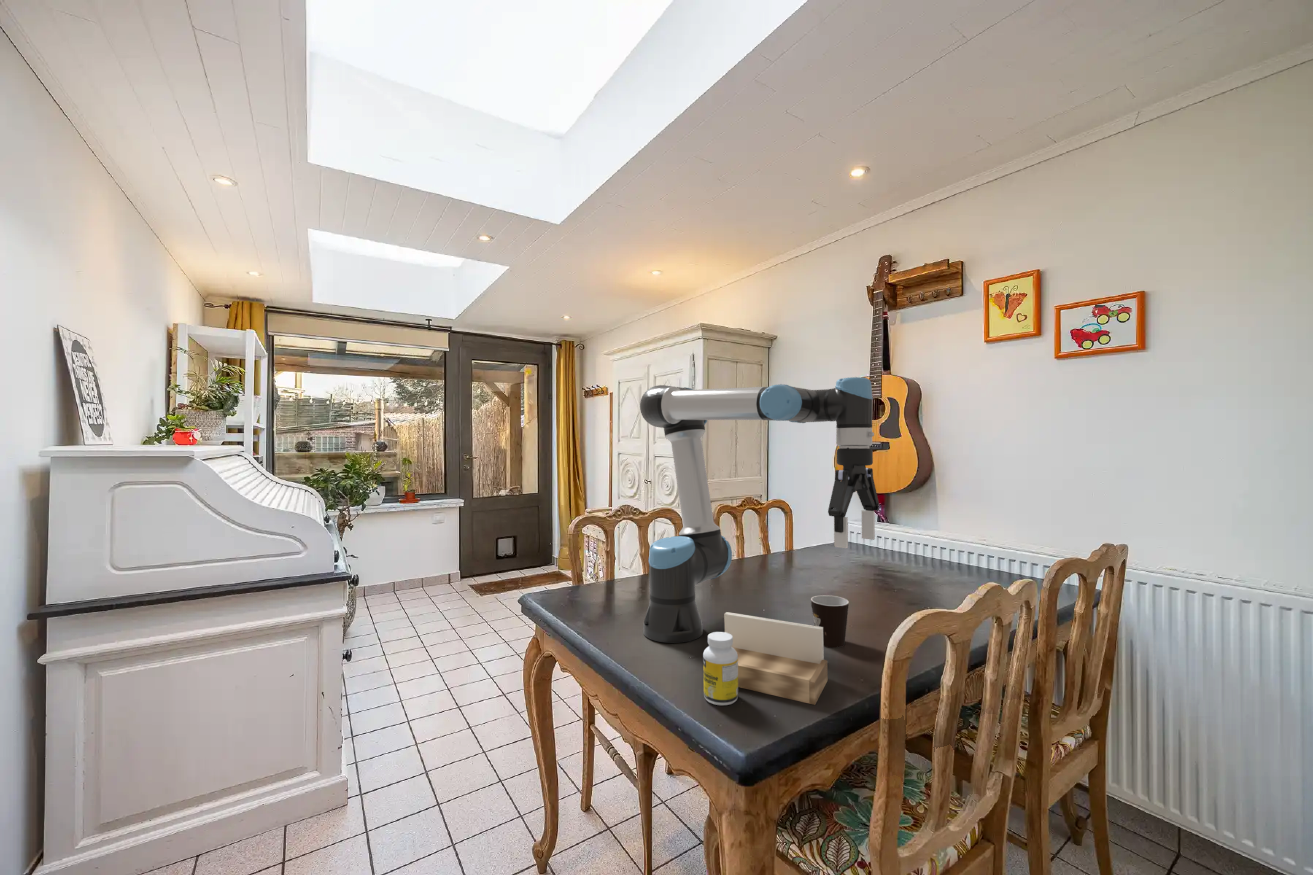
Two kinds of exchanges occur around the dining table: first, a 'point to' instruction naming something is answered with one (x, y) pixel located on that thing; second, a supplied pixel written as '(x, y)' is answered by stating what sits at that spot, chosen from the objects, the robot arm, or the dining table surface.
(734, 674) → the pill bottle
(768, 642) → the wall board
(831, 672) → the dining table surface
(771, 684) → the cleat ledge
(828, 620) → the coffee mug
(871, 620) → the dining table surface
